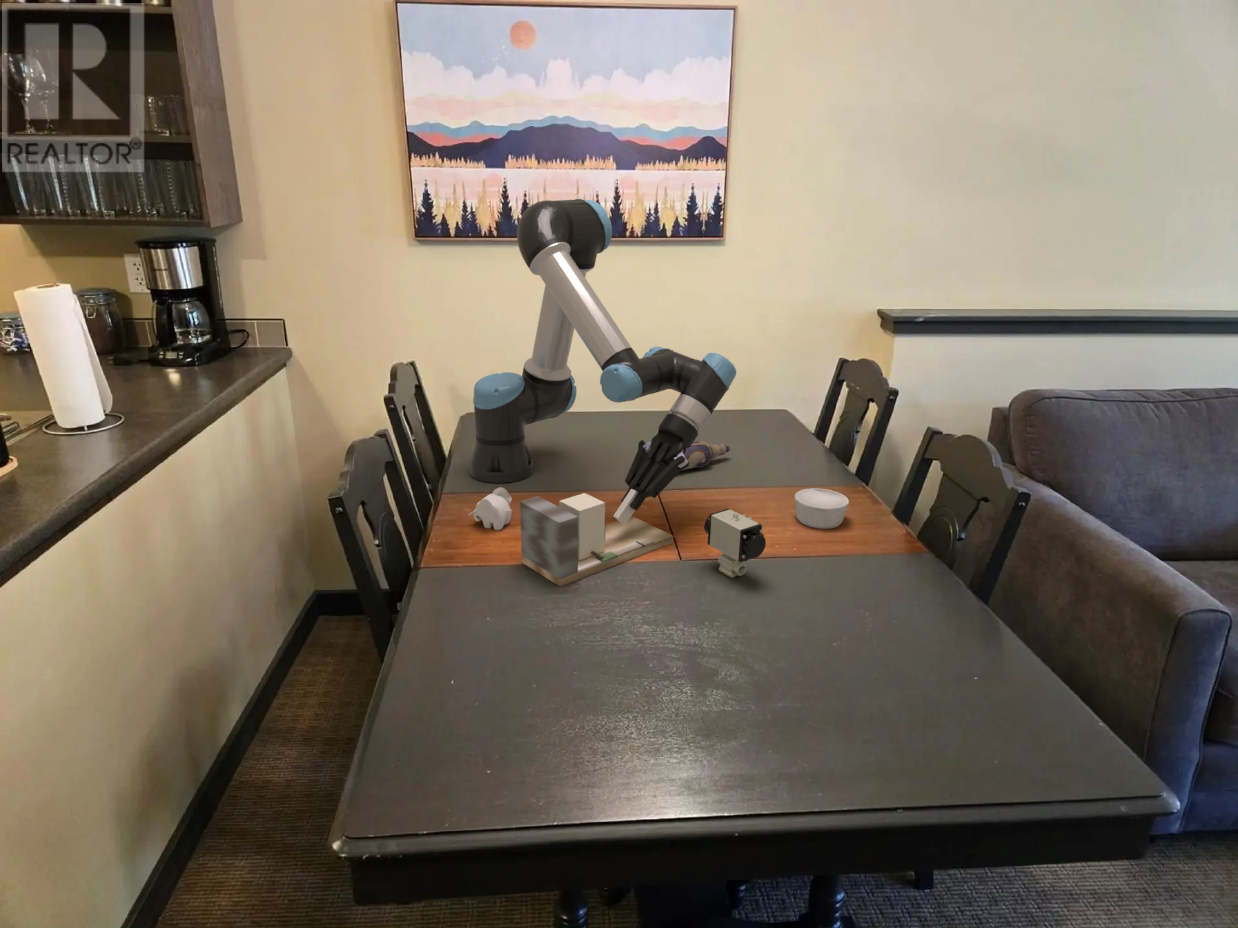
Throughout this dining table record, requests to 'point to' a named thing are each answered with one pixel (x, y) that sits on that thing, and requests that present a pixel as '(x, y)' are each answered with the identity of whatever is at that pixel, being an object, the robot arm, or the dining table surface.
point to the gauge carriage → (588, 523)
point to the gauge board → (614, 543)
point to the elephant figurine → (494, 509)
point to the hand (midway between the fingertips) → (619, 520)
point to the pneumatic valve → (734, 540)
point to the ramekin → (820, 507)
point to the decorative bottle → (703, 454)
